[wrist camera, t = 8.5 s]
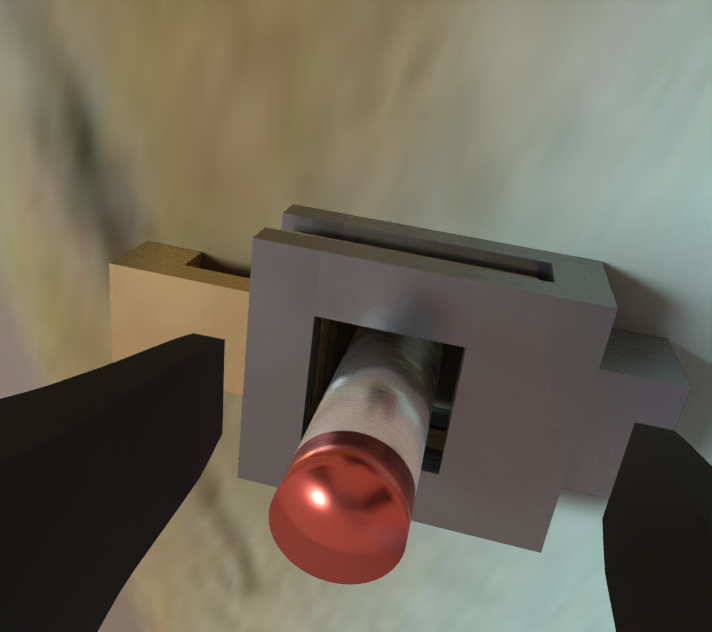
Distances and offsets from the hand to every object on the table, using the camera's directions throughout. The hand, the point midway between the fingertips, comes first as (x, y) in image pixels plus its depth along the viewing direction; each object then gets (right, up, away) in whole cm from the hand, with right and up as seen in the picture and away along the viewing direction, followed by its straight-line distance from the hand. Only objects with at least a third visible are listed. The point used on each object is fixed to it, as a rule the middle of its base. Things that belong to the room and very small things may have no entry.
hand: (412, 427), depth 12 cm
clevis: (0, +1, +11) cm, 11 cm away
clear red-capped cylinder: (0, +1, +11) cm, 11 cm away
